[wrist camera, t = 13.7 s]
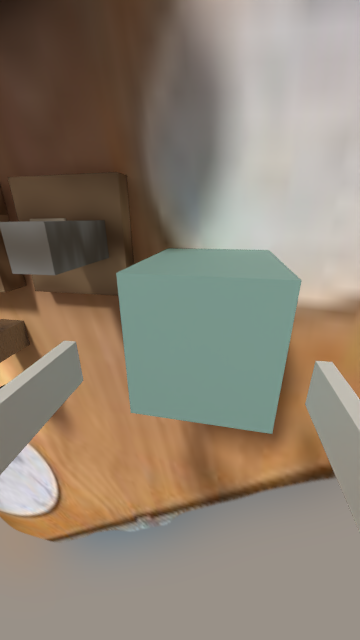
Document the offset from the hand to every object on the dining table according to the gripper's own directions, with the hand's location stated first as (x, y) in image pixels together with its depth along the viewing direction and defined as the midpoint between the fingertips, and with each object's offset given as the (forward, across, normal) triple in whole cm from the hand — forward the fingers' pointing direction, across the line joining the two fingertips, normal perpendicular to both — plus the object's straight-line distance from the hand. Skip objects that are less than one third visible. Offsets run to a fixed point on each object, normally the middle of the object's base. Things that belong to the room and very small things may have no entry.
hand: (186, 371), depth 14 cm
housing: (+13, -1, 0) cm, 13 cm away
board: (+14, +13, -6) cm, 20 cm away
